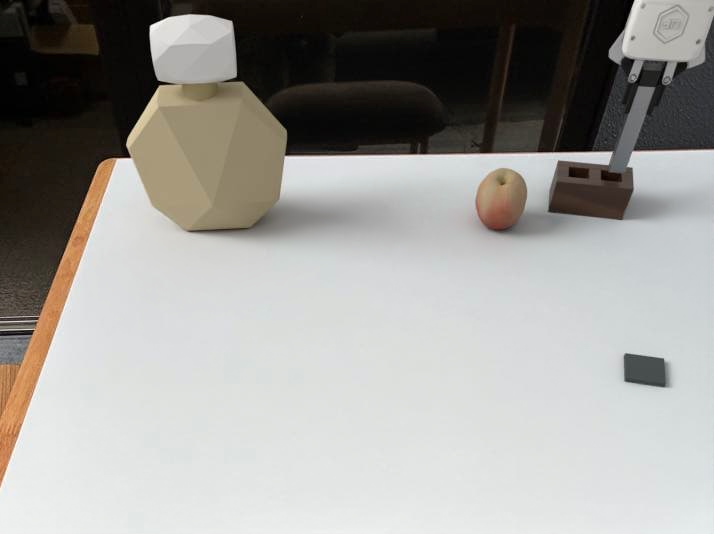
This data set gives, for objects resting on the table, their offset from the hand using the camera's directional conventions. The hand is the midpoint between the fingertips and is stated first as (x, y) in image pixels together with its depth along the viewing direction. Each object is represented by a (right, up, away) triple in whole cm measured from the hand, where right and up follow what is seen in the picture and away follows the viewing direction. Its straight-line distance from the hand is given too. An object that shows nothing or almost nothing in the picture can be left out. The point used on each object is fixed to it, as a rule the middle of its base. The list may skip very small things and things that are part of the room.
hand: (637, 109), depth 96 cm
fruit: (-18, -12, +10) cm, 24 cm away
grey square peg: (0, -5, +7) cm, 9 cm away
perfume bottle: (-64, -10, +13) cm, 66 cm away
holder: (-2, -8, +13) cm, 15 cm away
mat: (-4, -41, -10) cm, 42 cm away
